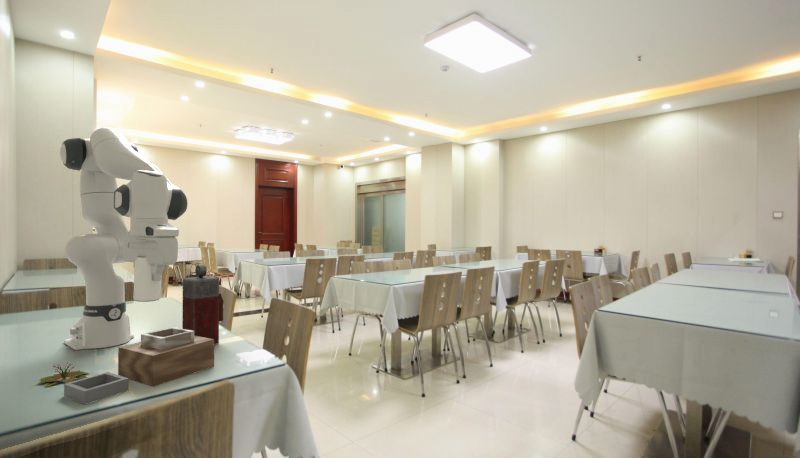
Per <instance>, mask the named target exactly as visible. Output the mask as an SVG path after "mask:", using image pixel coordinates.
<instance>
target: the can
mask: <svg viewBox="0 0 800 458" xmlns="http://www.w3.org/2000/svg"><path fill="white" fill-rule="evenodd" d="M146 258H147V257H138V256H137V259H136V261H135V268H134V267H133V268H134V269H133V271H134V272H133V297H132V298H133V300H134V301H135V302H139V303H145V302H146V303H148V302H156V301H159V300H160V299H161V298H162V279H163V275H162V276H161V281H152V274H154V271H155V268H154V264H148V262H147V260H146Z"/></svg>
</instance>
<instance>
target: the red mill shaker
mask: <svg viewBox="0 0 800 458" xmlns="http://www.w3.org/2000/svg"><path fill="white" fill-rule="evenodd" d="M195 266H196V267H195V272H194V273H195V275H196V276H192V277H184V278H183V279H182V328H181V329H186V330H192V331H194V336H199V337H205V338H210V339H214V345H218V344H219V343H220V342H219V341H220V322H223V321H224V299H223V297H222V296H223V295H222V293H220V279H219V278H218V277H214V276H210V275H209V276H207V272H208V270H207V266H206V265H205V264H197V265H195Z"/></svg>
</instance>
